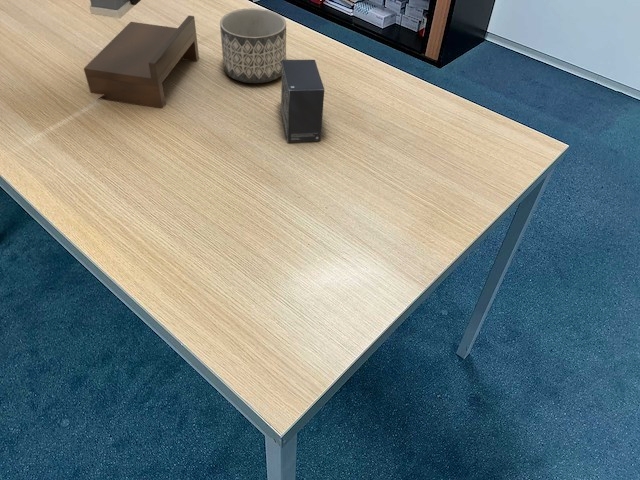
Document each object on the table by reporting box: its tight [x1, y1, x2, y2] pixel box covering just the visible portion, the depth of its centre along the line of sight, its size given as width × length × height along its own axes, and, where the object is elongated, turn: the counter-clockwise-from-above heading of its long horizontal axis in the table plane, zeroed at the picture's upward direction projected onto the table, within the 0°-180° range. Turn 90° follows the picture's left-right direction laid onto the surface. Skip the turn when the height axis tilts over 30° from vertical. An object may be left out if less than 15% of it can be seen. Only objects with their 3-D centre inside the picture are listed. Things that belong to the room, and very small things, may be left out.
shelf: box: [83, 14, 200, 109], centre depth 105 cm, size 14×20×9 cm
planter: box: [219, 7, 287, 84], centre depth 108 cm, size 13×13×10 cm
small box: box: [280, 59, 325, 143], centre depth 96 cm, size 11×6×10 cm, turn 9°
